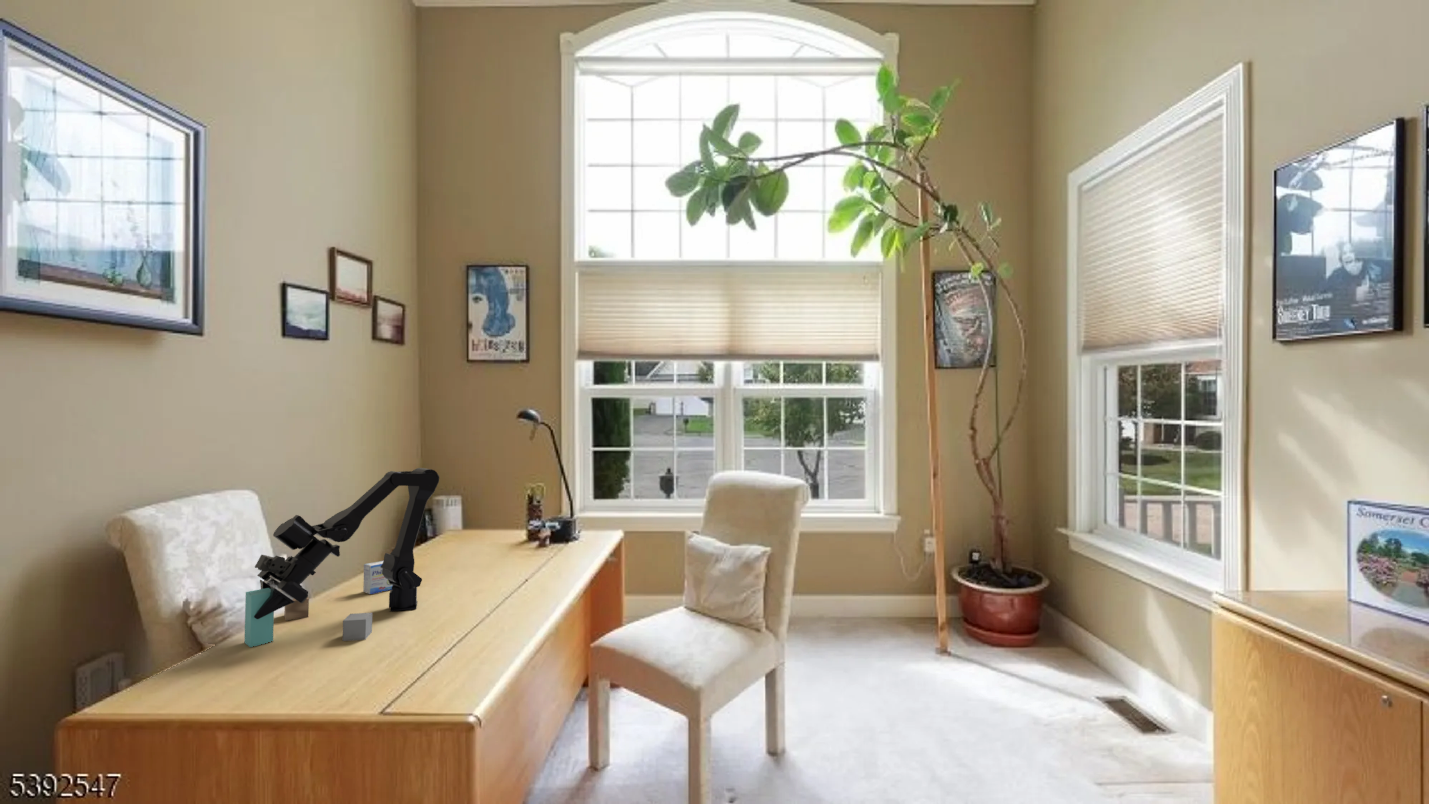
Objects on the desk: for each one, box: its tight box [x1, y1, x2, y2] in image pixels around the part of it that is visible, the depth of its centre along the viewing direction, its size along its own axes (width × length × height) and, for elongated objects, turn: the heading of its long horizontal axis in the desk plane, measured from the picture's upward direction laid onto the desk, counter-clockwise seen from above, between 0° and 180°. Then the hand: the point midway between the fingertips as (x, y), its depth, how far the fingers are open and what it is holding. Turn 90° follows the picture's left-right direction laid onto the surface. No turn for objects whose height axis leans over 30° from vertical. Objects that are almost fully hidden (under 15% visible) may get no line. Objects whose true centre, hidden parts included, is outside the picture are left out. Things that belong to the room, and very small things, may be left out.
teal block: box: [244, 588, 275, 648], centre depth 145 cm, size 4×4×12 cm
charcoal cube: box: [342, 612, 373, 642], centre depth 150 cm, size 5×5×5 cm
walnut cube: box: [284, 597, 310, 621], centre depth 164 cm, size 5×5×5 cm
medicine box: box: [363, 560, 393, 595], centre depth 187 cm, size 8×4×9 cm, turn 143°
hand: (252, 615), depth 144 cm, fingers closed on teal block, 4 cm apart
